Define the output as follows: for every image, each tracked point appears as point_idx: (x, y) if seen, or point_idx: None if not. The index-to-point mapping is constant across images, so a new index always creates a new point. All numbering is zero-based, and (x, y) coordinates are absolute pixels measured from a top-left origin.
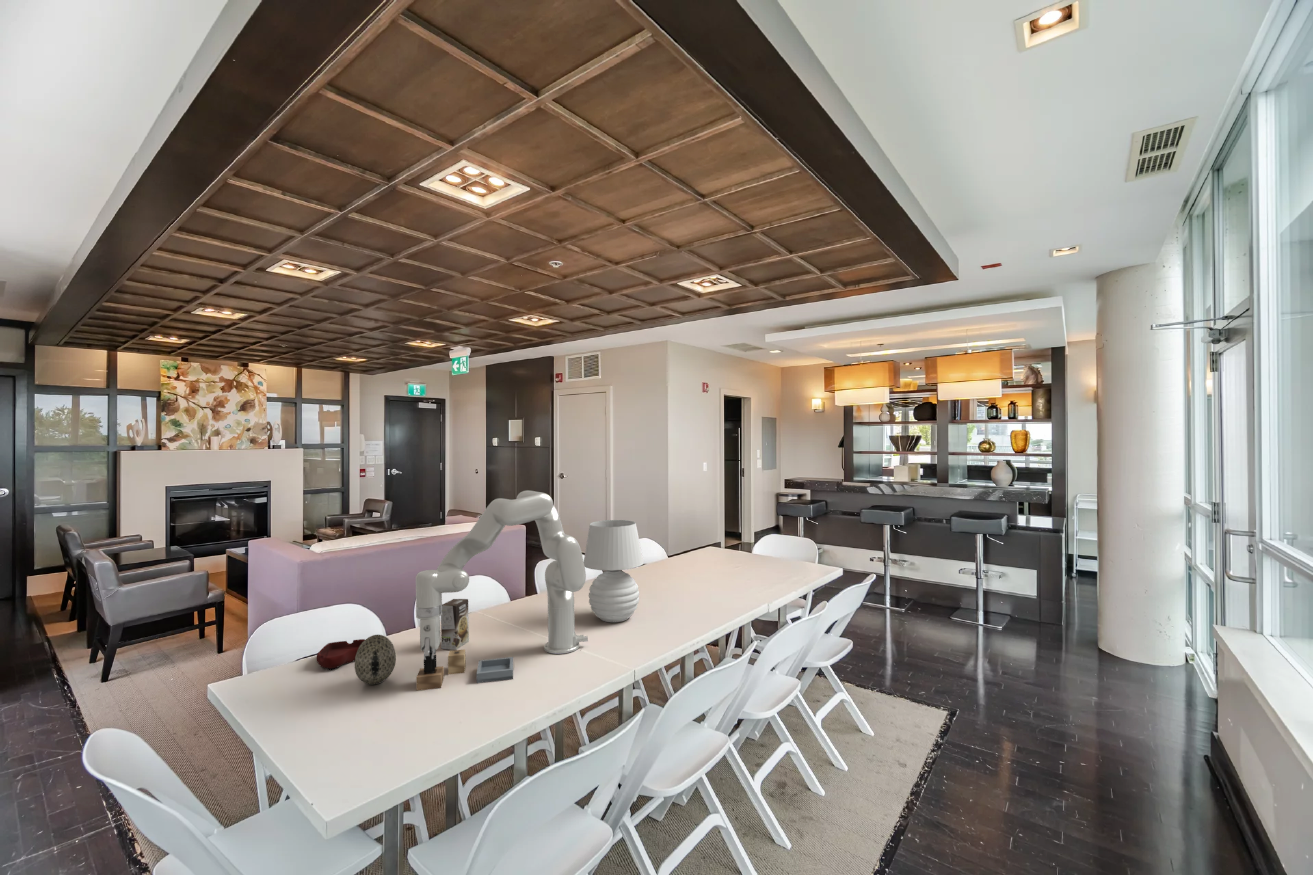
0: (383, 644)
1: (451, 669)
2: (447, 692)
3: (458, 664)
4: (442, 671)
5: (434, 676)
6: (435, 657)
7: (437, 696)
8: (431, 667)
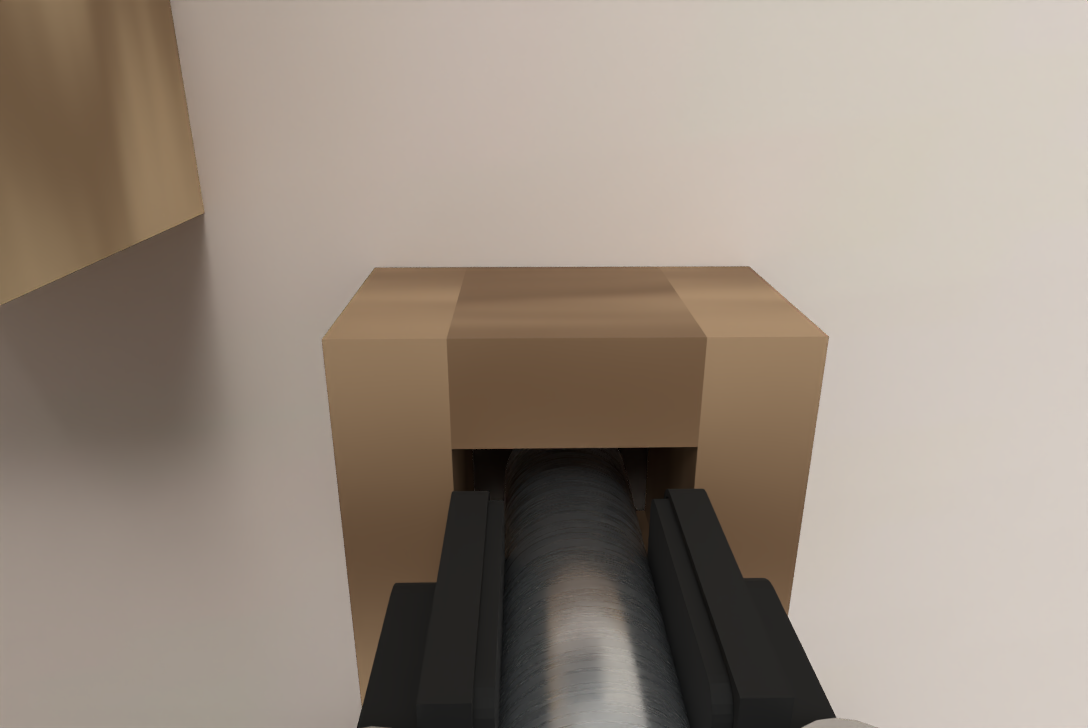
0: None
1: (154, 164)
2: (980, 136)
3: (75, 3)
4: (524, 323)
5: (801, 442)
6: (496, 659)
7: (1056, 276)
8: (774, 601)
